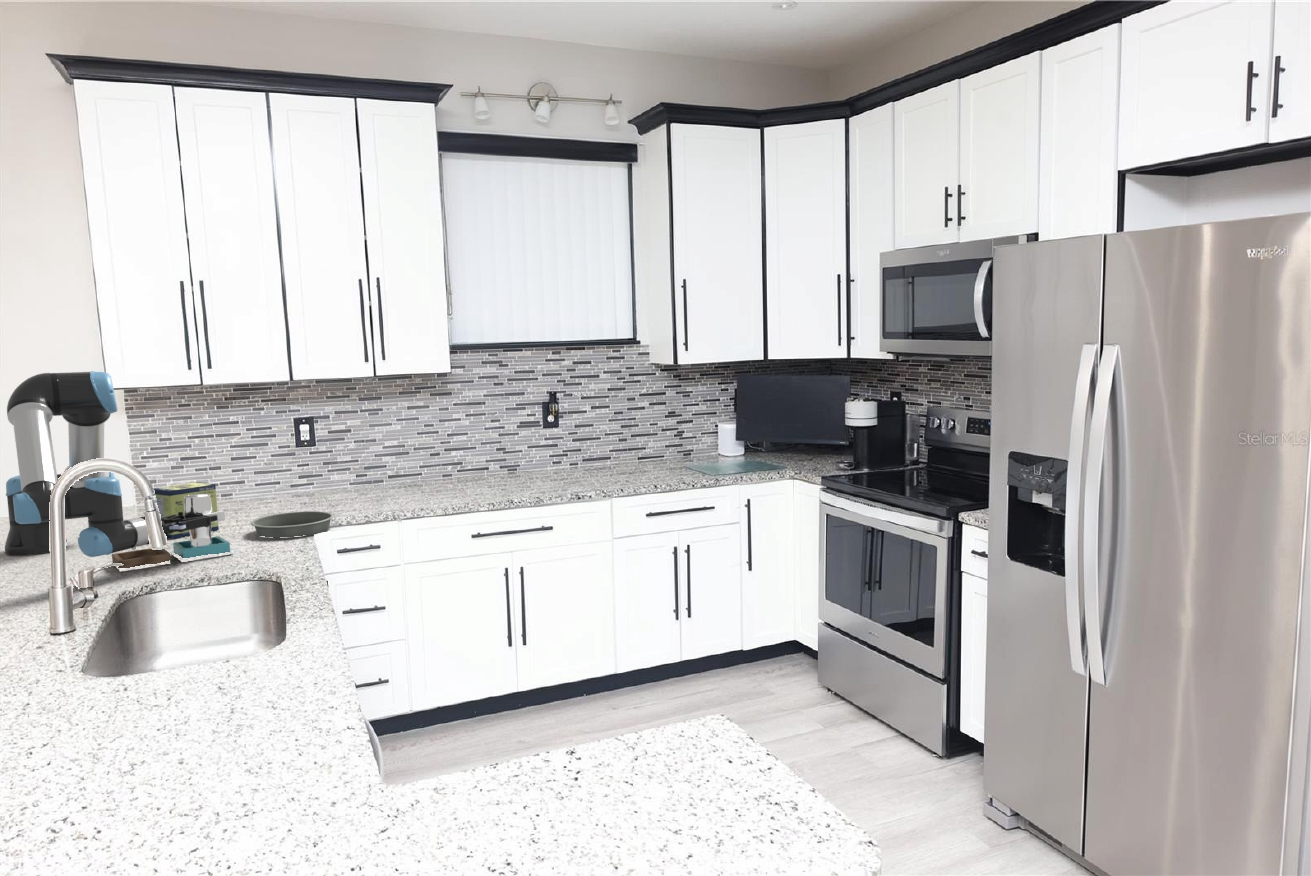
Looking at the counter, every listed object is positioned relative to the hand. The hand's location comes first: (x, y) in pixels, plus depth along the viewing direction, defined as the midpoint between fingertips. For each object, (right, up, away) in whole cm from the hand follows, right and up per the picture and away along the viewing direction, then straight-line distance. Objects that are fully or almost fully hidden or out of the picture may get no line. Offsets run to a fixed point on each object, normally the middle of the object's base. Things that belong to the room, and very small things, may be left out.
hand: (213, 514), depth 246 cm
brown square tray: (-13, -12, -13) cm, 22 cm away
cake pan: (+12, -8, +27) cm, 31 cm away
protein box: (-23, -9, +28) cm, 37 cm away
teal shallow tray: (-1, -11, -4) cm, 12 cm away
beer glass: (-1, -9, -4) cm, 10 cm away
